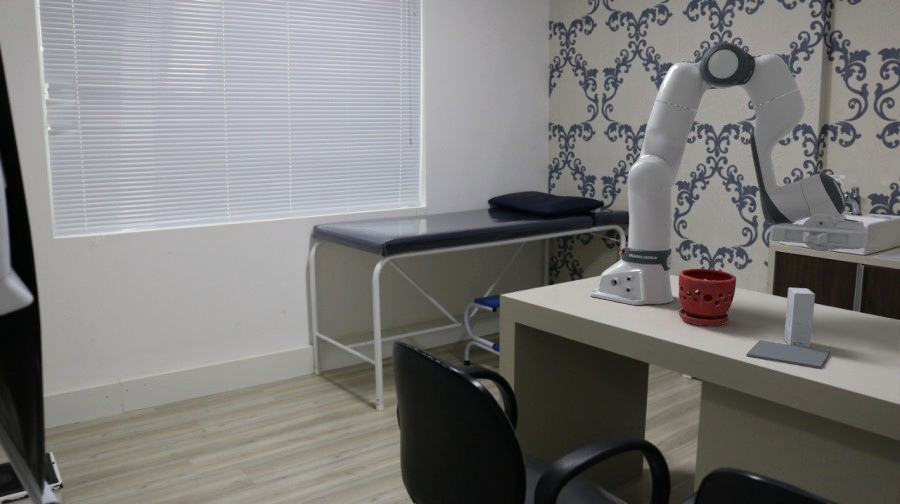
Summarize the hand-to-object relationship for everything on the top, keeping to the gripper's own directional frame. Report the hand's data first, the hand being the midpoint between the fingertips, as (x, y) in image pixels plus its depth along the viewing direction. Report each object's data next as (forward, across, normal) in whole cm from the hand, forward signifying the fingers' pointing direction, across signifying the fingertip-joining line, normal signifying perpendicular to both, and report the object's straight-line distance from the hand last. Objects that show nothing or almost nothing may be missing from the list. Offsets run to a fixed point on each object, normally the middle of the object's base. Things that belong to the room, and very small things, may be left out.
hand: (812, 239), depth 167 cm
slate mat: (+19, 0, +22) cm, 29 cm away
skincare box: (+9, 0, +22) cm, 24 cm away
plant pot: (+2, -22, +22) cm, 31 cm away
